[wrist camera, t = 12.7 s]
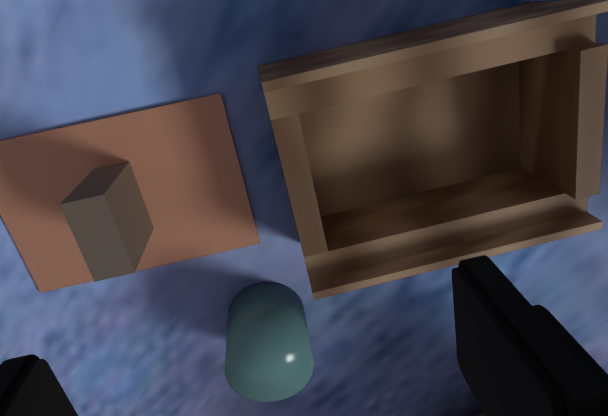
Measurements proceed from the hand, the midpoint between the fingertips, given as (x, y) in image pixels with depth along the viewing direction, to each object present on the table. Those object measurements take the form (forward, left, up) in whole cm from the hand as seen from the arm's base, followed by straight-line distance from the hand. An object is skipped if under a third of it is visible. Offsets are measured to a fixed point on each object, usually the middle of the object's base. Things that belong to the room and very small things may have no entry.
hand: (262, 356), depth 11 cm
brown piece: (+3, -10, -23) cm, 25 cm away
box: (+3, +10, -22) cm, 24 cm away
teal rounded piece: (+15, -3, -22) cm, 27 cm away
